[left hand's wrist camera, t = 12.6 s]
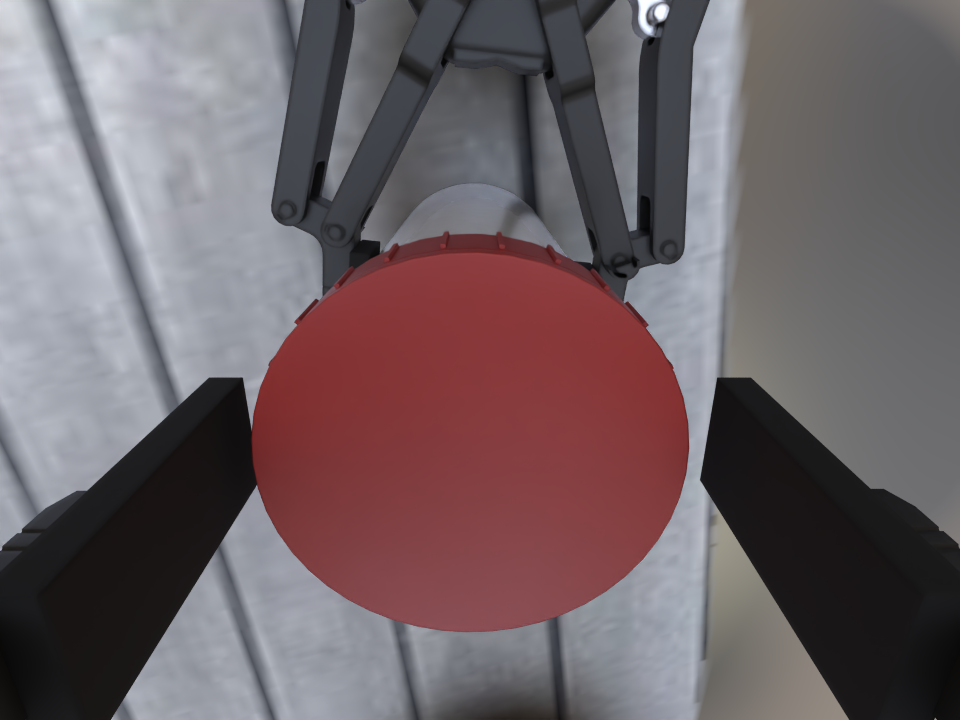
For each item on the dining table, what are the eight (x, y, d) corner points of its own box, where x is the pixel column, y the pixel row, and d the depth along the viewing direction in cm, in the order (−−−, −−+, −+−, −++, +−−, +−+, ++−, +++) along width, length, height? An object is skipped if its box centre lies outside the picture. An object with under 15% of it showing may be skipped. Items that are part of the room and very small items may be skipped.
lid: (682, 536, 15) (711, 594, 13) (348, 600, 16) (330, 664, 14) (636, 184, 12) (668, 195, 10) (217, 285, 13) (172, 312, 11)
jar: (565, 321, 31) (681, 569, 14) (418, 354, 32) (347, 631, 14) (535, 165, 28) (636, 224, 11) (374, 204, 29) (217, 322, 11)
